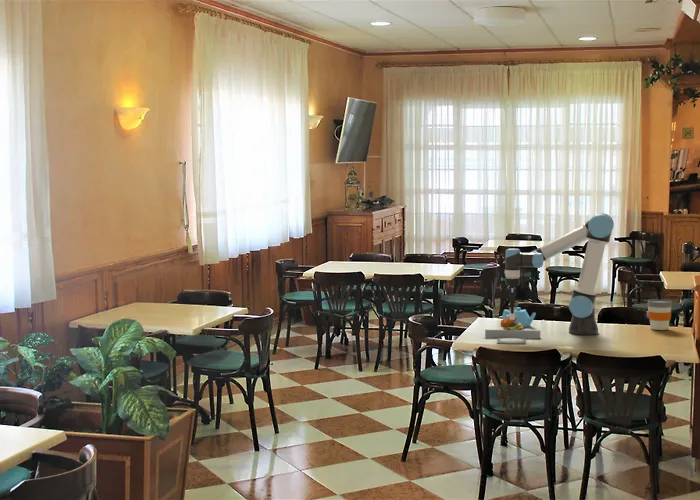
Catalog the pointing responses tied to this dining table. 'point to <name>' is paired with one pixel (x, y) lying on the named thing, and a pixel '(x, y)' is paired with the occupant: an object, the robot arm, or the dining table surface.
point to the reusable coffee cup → (659, 314)
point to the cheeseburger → (511, 324)
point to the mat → (511, 341)
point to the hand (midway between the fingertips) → (512, 317)
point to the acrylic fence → (512, 333)
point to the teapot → (520, 316)
